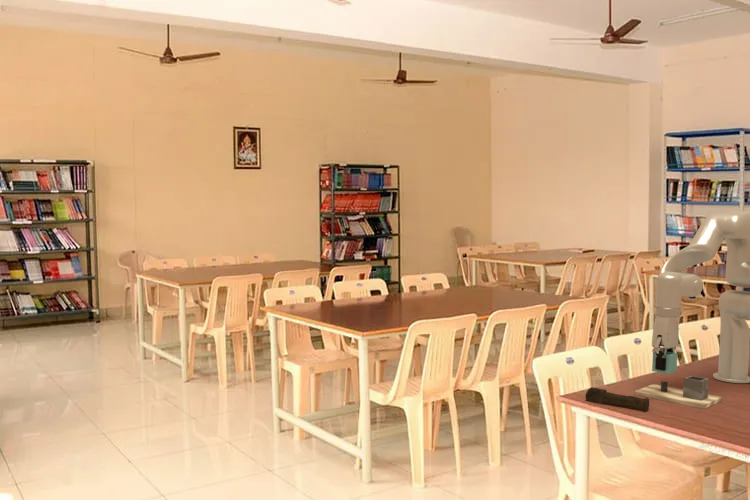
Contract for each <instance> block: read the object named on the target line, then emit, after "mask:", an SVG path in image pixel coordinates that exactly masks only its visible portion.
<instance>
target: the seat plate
mask: <svg viewBox="0 0 750 500" xmlns="http://www.w3.org/2000/svg"><path fill="white" fill-rule="evenodd" d="M668 383H669V382H668V381H665V380H663V381H660V384H656V383H652V384H649V385H648V386H644V387H642V388H640V389H637V390H634V395H636V396H640V397H645V398H648V399H649V398H650V399H654V400H659V401H665V402H669V403H673V404H674V403H675V404H677V405H679V404H680V405H684V406H688V407H693V408H698V409H703V410H705V409H708V408H710V407H712V406H714V405H716V404H717V403H720V402H722V400H723V399H722V398H723V397H722V396H720V395H719V396H718V395H714V394H709V388H710V387H709V386H710V385H709V384H710V378H707V377H702V376H701V377H700V376H696V375H689V376H686V377H683V383H682V384H683V387H682V388H677V387H672V386H668Z"/></svg>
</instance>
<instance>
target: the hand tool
mask: <svg viewBox="0 0 750 500" xmlns="http://www.w3.org/2000/svg"><path fill="white" fill-rule="evenodd" d="M585 400H586V401H589V402H592V403H595V402H596V404H599V403H600V404H601V405H605V404H609V405H615V406H622V407H625V408H632V409H636V410H642V411H644V412H645V413H646V412H648V410H649V409H650V399H649V397H645V398H643V397H638V396H632V395H625V394H619V393H613V392H608V391H607V389H603V388H598V387H593V386H591V387H590V388H588V389H587V391H586V393H585Z"/></svg>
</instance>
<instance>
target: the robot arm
mask: <svg viewBox="0 0 750 500" xmlns="http://www.w3.org/2000/svg"><path fill="white" fill-rule="evenodd" d="M724 240H725V243H726V247H727V248H726V263H725V266H726V267H725V280H726V282H727V284H728V285H730V286H732V287H733V286H734V287H737V288H738V287H740V288H748V289H750V210H740V209H736V210H734V209H727V210H726V209H725V210H721V211H718V212H713V213H709V214H708V215H707V216H705V217H704V218H703V221H702V223H701V224H700V226H699V228H698V229H697V231H696V233H695V235H694V237H693V238H692V240H691V242H690V243H689V244H688V245H687V246H685V247H684V248H682V249H679V251H677V252H676V253H674V254H673V255H671V256H670V257H669V258H668V259H666V261H665V262H664V264H663V266H662V267H661V269H660V271H659V274H658V276H657V277H656V287H655V288H656V290H655V291H656V292H655V309H654V310H655V311H654V317H655V319H654V324H653V327H652V328H653V329H652V335H651V336H652V338H651V346H652V348H653V350H654V352H655V353H656V355H655V357H656V363H655V369H657V370H662V371H665V370H666V358H665V356H666V352H673V353H676V349H677V346H678V344H679V335H680V334H679V333H680V330H679V329H680V328H679V326H680V324H679V319H681V310H682V309H681V307H682V297H686V298H687V297H688V298H693V297H697V296H698V295H700V294H701V292H702V291H703V289H704V282H703V279H702V278H701V277H700V276H699V275H697V274H694V273H689V272H686V273H685V272H682V271H683V270H685V269H687V268H689V267H692V266H695V265H700V264H703V263H706V262H708V261H712V260H713V258H715V256H716V255H717V252H718V251H719V249H720V247H721V245H722V244H723V241H724ZM718 310H719V318H720V326H719V327H720V330H719V346H718V347H719V349H718V368H717V372H714V373H713V374H712V377H713V379H715V380H717V381H721V382H727V383H733V384H749V383H750V375H748V374H749V362H750V361H749V360H750V359H749V358H750V326H749V324H748V323H747V320H750V291H746V290H737V289H729V290H726V291H724V292H722V293H721V294H720V296H719V299H718ZM662 351H663V353H662Z"/></svg>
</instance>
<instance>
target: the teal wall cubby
mask: <svg viewBox="0 0 750 500" xmlns="http://www.w3.org/2000/svg"><path fill="white" fill-rule="evenodd" d="M661 351H662V353H663V350H661ZM655 355H656V353H655V351H653V353H652V365H651V371H652V372H655V373H659V374H660V373H661V374H664V375H665V374H667V375H671V374H674V373H677V372H678V371H677V370H678V353H677V352H675V353H673V352H666V356H665V358H666V370H665V371H662V370H657V369H655V363H656V357H655Z"/></svg>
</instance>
